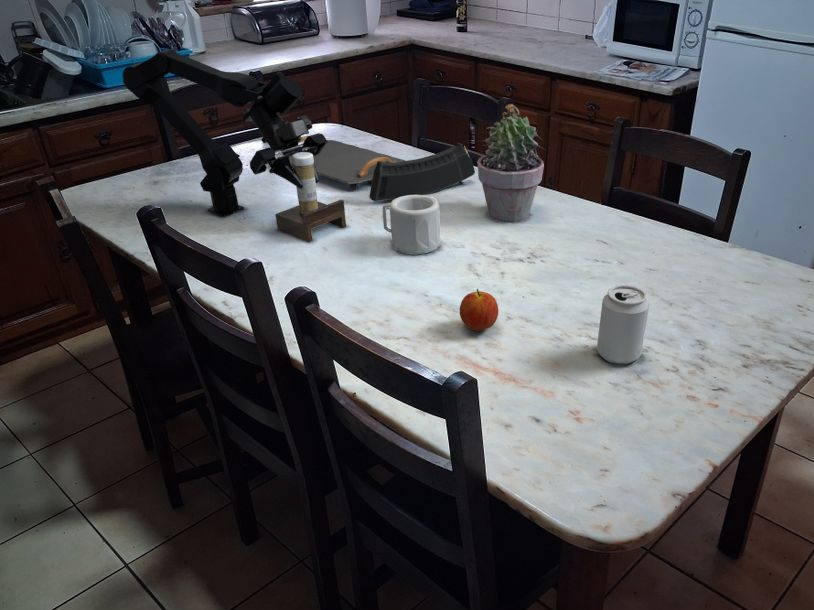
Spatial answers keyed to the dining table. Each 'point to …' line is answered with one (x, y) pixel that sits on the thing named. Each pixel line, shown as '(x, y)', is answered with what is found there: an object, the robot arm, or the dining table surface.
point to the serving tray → (347, 162)
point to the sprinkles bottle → (305, 181)
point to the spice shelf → (310, 219)
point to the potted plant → (510, 168)
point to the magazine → (421, 174)
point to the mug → (414, 224)
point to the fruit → (479, 310)
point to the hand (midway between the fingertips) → (309, 185)
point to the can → (622, 324)
